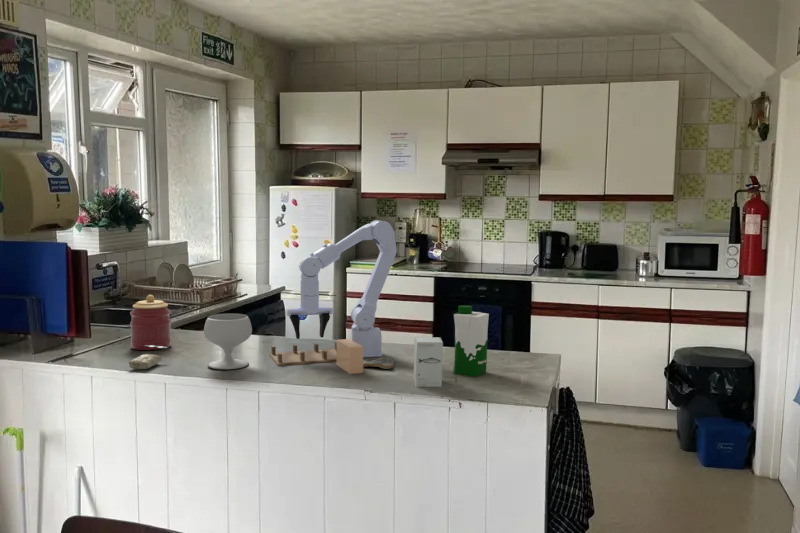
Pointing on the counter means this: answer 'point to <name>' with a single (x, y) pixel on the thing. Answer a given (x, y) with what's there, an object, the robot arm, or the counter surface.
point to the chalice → (227, 337)
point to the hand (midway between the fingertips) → (309, 337)
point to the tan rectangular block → (349, 356)
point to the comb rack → (303, 356)
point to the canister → (150, 324)
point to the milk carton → (470, 342)
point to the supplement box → (428, 361)
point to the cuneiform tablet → (145, 360)
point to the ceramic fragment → (381, 363)
